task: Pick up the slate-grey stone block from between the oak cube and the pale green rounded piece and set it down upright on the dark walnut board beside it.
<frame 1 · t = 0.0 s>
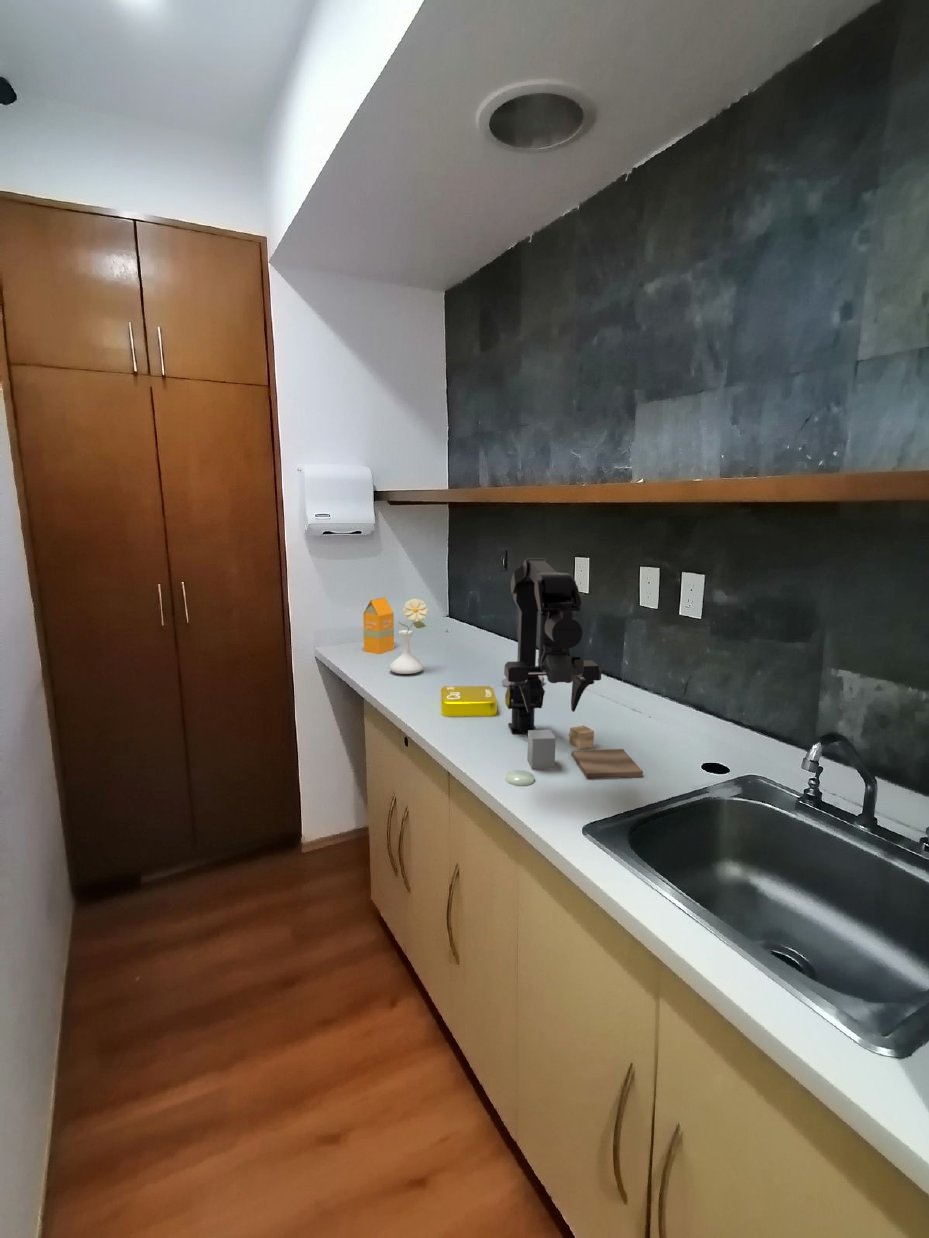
hand: (550, 711, 127), 15 cm above the worktop, fingers open, 9 cm apart
flower in vase: (408, 672, 208), on the worktop
slate block: (540, 764, 137), on the worktop
pale green rounded piece: (519, 780, 130), on the worktop
orange juice: (379, 651, 238), on the worktop
stone block: (524, 686, 196), on the worktop
element tile: (468, 709, 174), on the worktop
walnut board: (605, 765, 136), on the worktop
oak cube: (581, 745, 148), on the worktop
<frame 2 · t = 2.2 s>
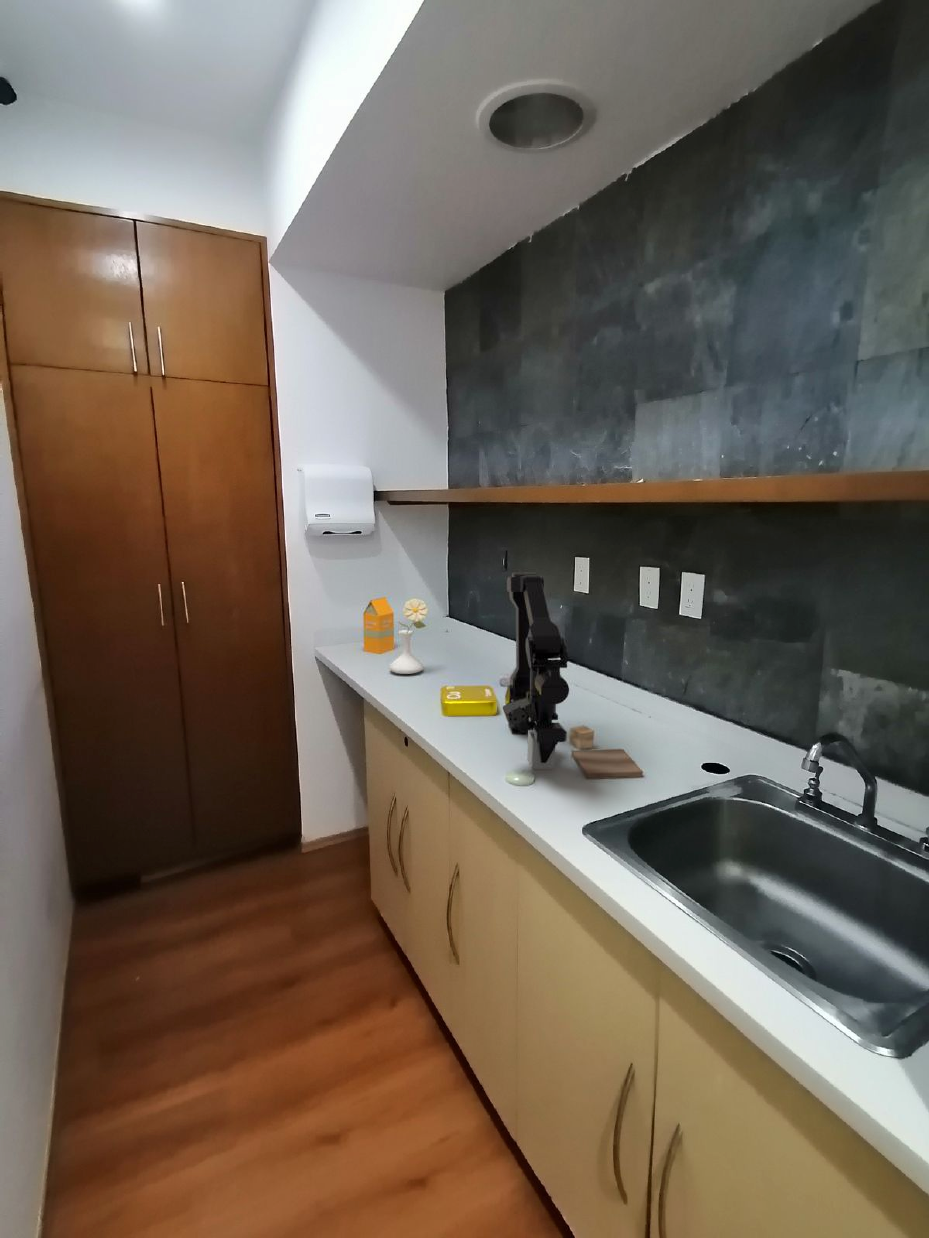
hand: (540, 757, 137), 2 cm above the worktop, fingers closed on slate block, 5 cm apart
slate block: (540, 764, 137), on the worktop, touching gripper
stone block: (521, 685, 196), on the worktop
everything else where it was.
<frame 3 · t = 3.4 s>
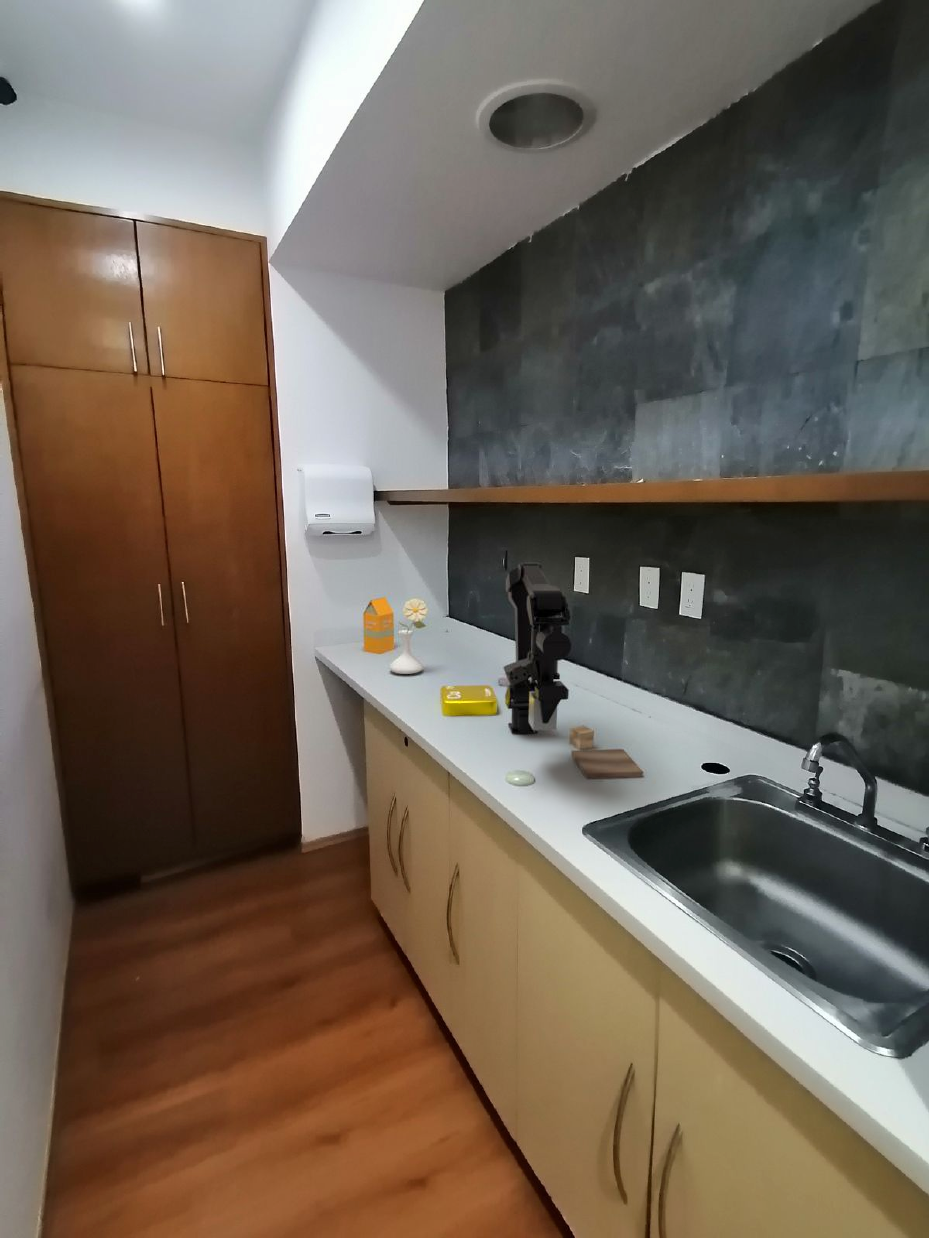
hand: (542, 718, 135), 11 cm above the worktop, fingers closed on slate block, 5 cm apart
slate block: (542, 725, 135), point 9 cm above the worktop, touching gripper
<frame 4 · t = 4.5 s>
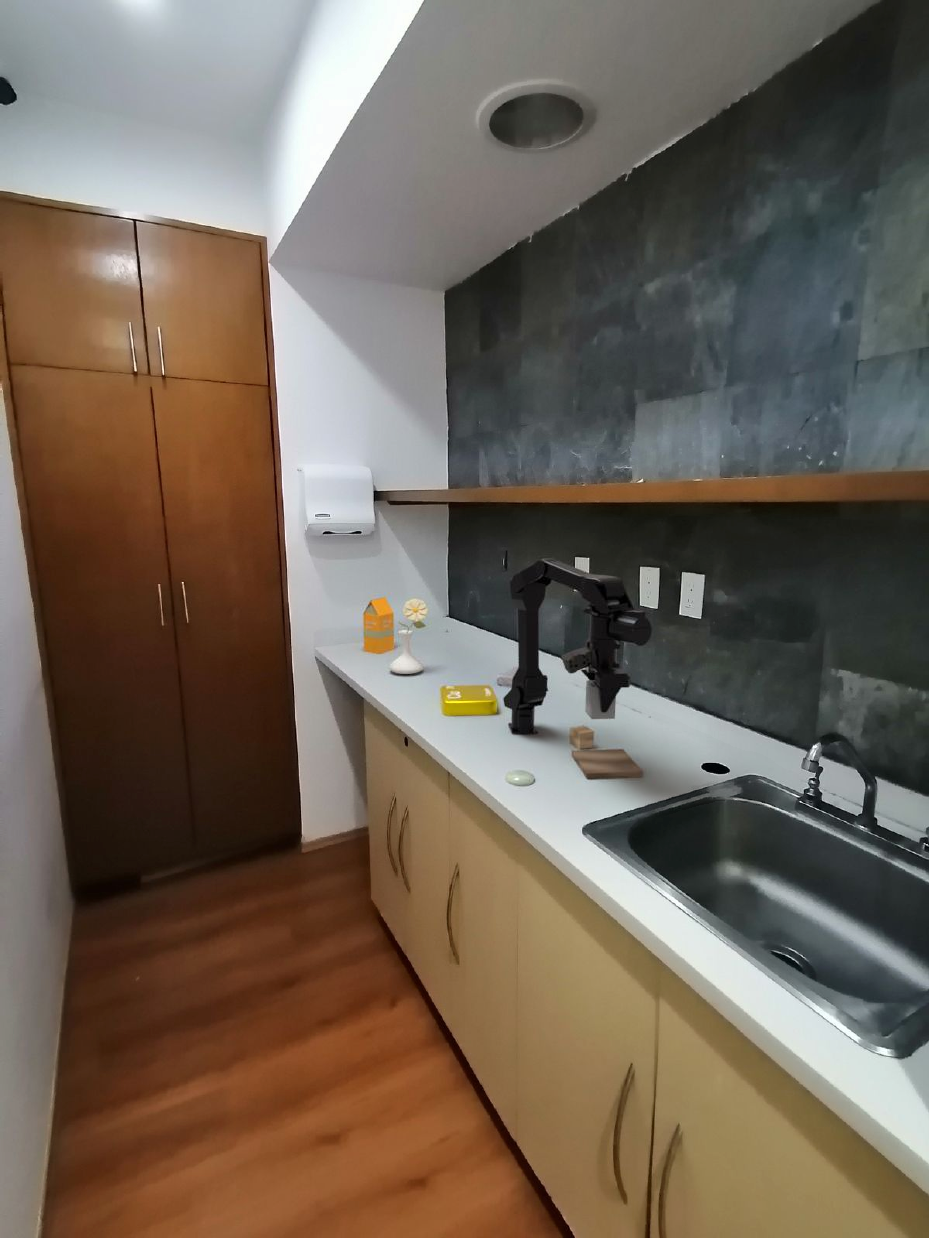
hand: (600, 708, 134), 13 cm above the worktop, fingers closed on slate block, 5 cm apart
slate block: (599, 715, 134), point 12 cm above the worktop, touching gripper
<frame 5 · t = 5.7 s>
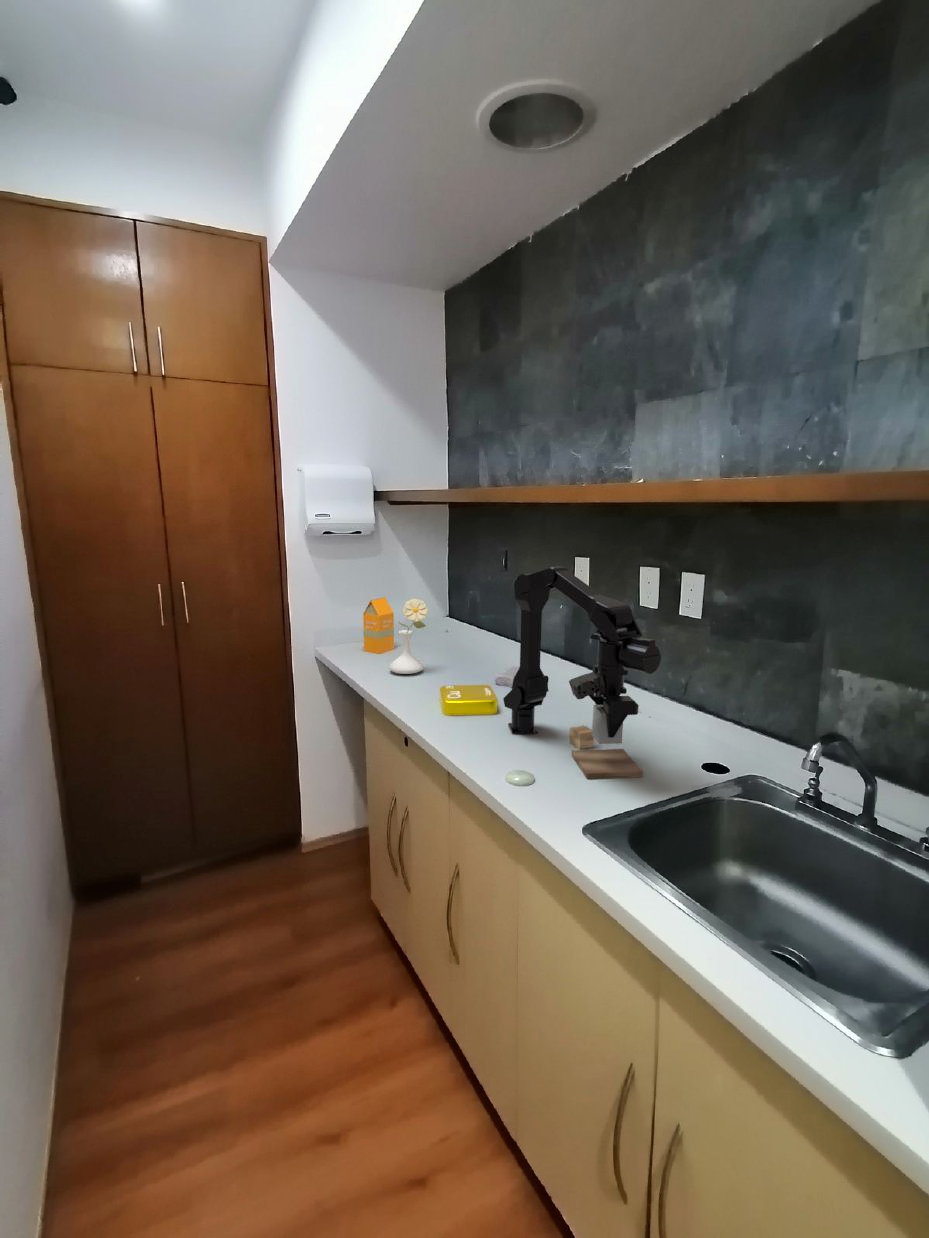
hand: (607, 732, 135), 8 cm above the worktop, fingers closed on slate block, 5 cm apart
slate block: (606, 739, 135), point 6 cm above the worktop, touching gripper
when the fingers open (4 cm above the worktop, at t = 6.8 s): slate block stays where it is, resting on walnut board.
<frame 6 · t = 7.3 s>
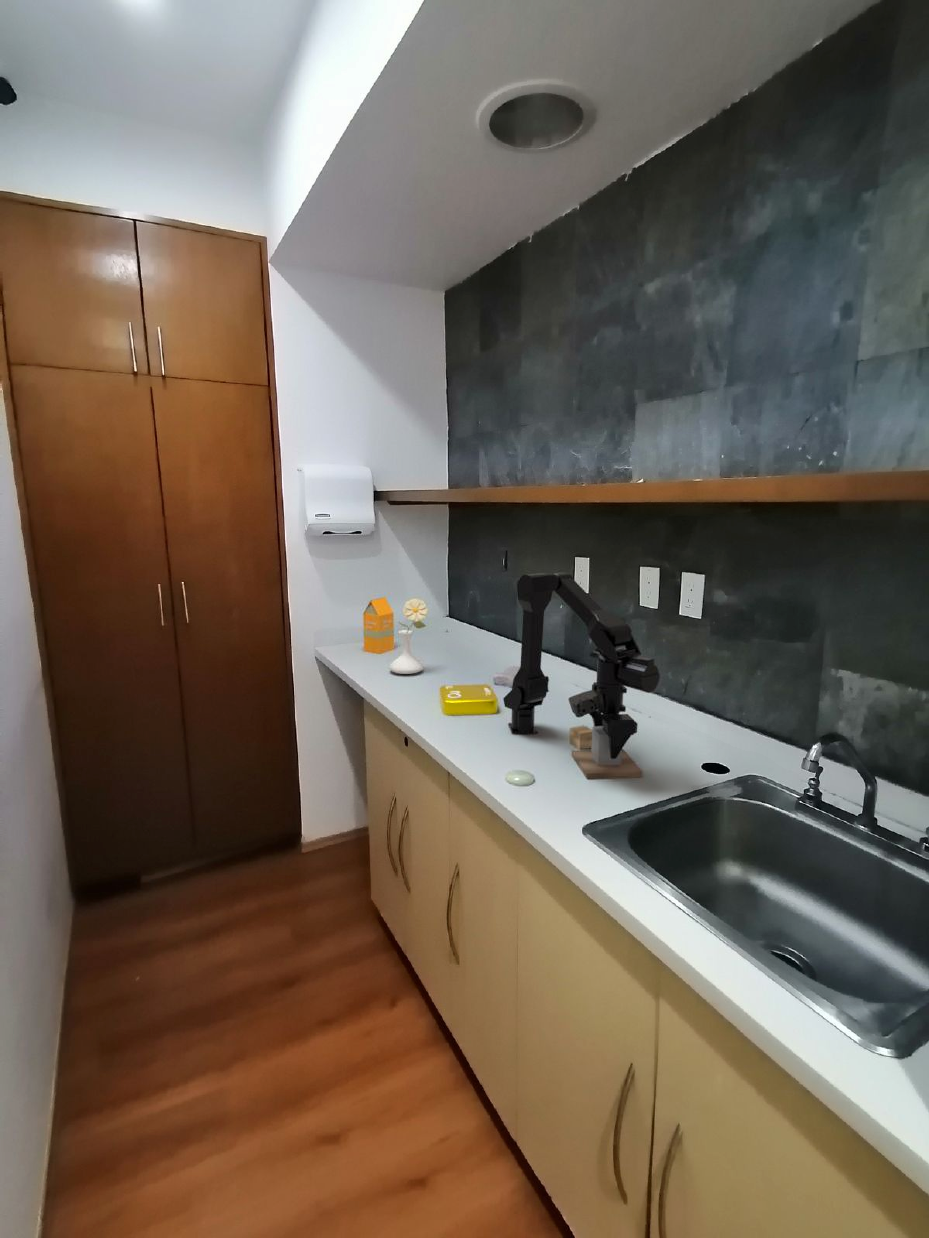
hand: (606, 749, 136), 4 cm above the worktop, fingers open, 9 cm apart
slate block: (605, 760, 136), point 1 cm above the worktop, touching walnut board
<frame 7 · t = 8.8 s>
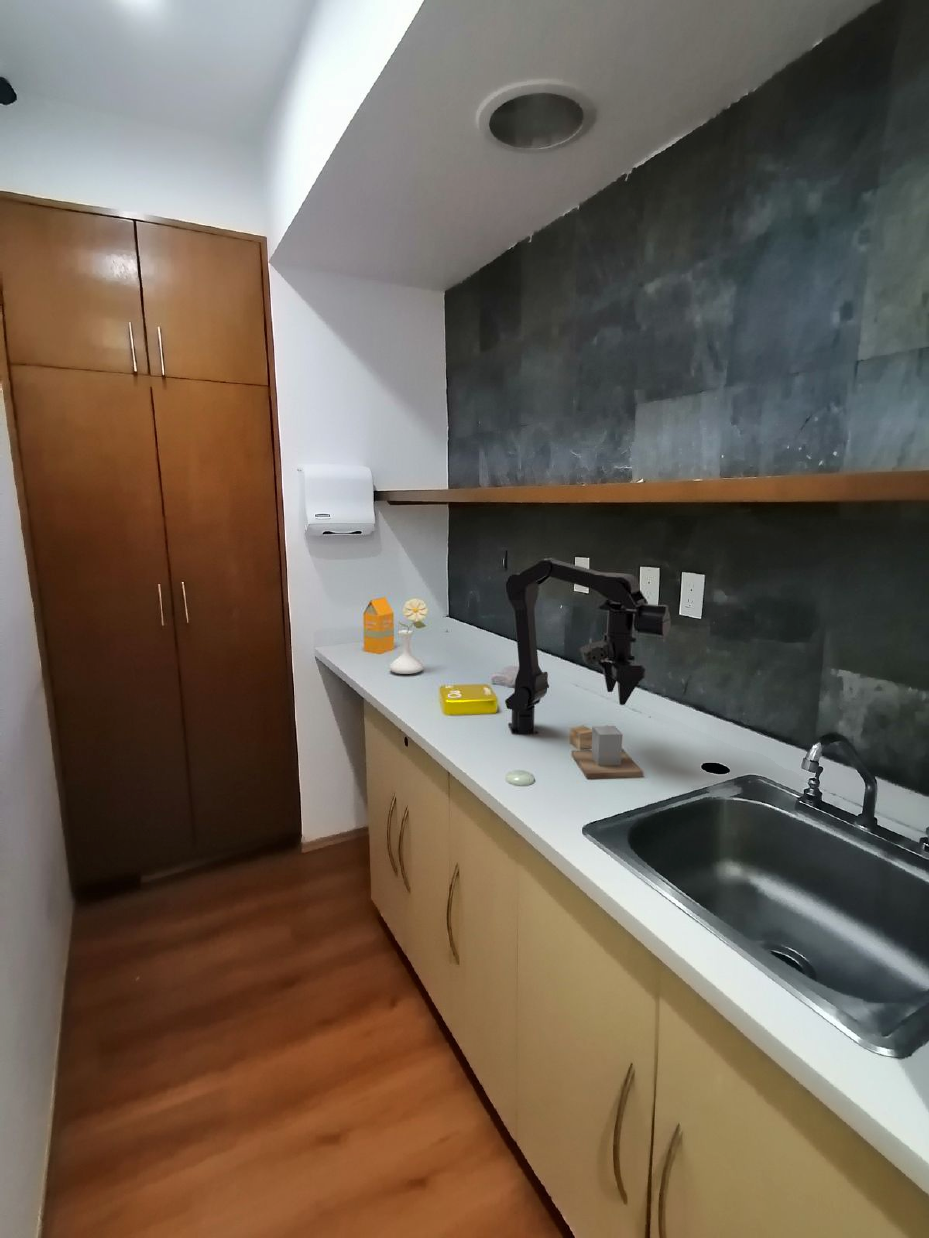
hand: (615, 698, 142), 13 cm above the worktop, fingers open, 9 cm apart
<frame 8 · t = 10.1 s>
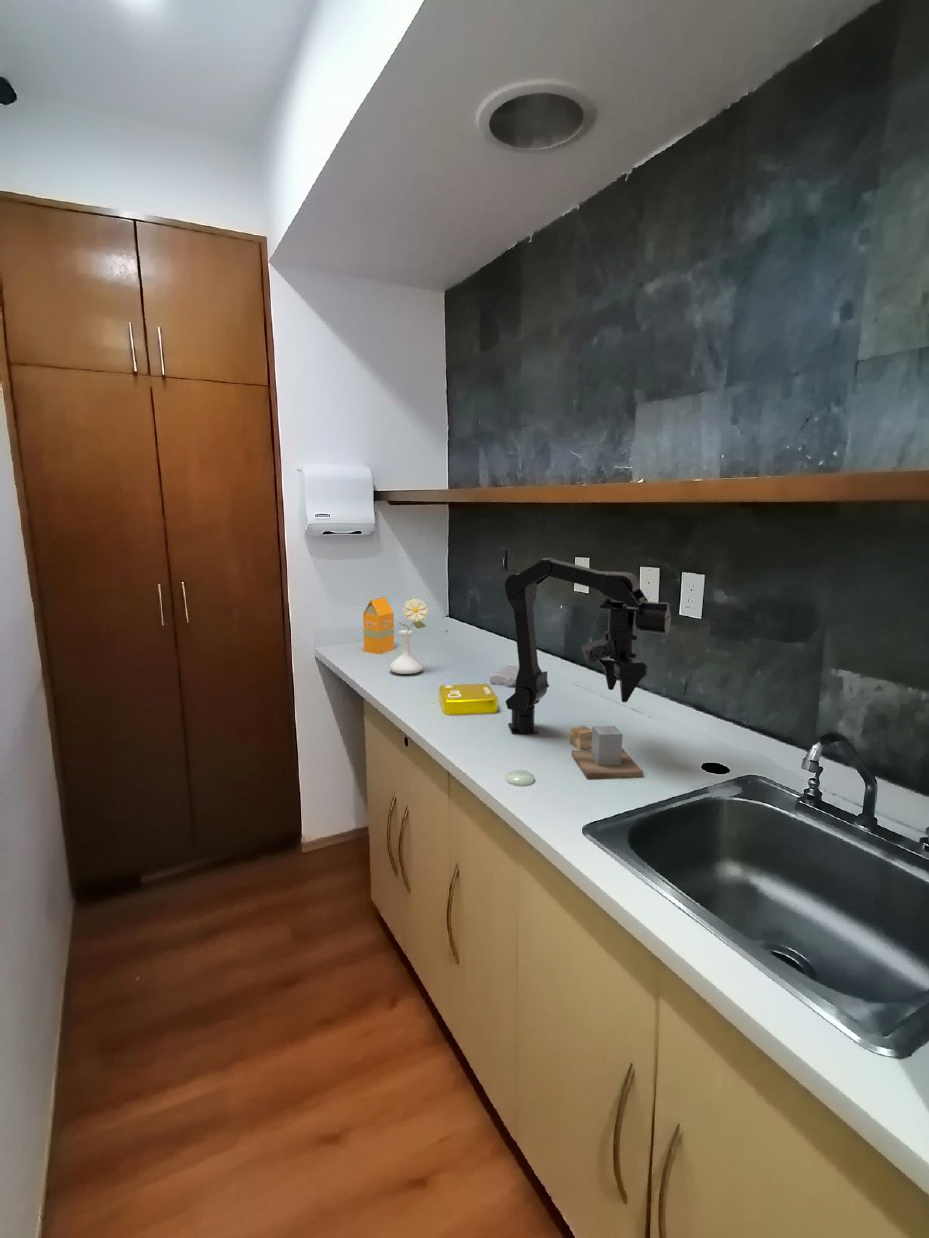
hand: (617, 695, 143), 13 cm above the worktop, fingers open, 9 cm apart
at the end: slate block inside the target area on the walnut board (0.0 cm from its centre), point 1.2 cm above the walnut board's base; slate block tilted 0°; the gripper is holding nothing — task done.
